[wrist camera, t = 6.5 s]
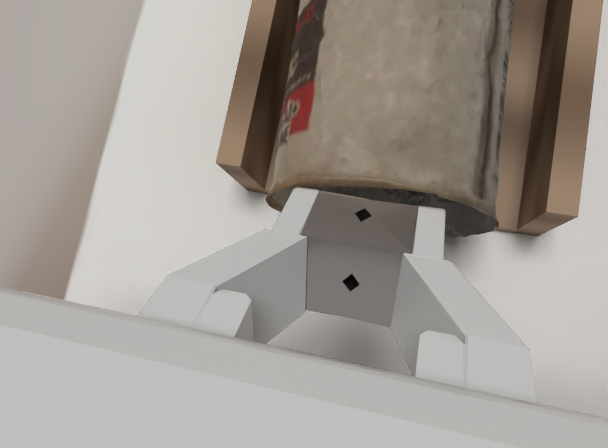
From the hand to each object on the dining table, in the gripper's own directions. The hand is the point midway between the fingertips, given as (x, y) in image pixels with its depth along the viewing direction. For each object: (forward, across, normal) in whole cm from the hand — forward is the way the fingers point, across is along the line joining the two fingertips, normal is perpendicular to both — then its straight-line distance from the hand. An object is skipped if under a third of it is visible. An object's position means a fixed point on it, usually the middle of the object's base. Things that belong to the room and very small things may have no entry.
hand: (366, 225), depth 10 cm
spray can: (+6, 0, +5) cm, 8 cm away
